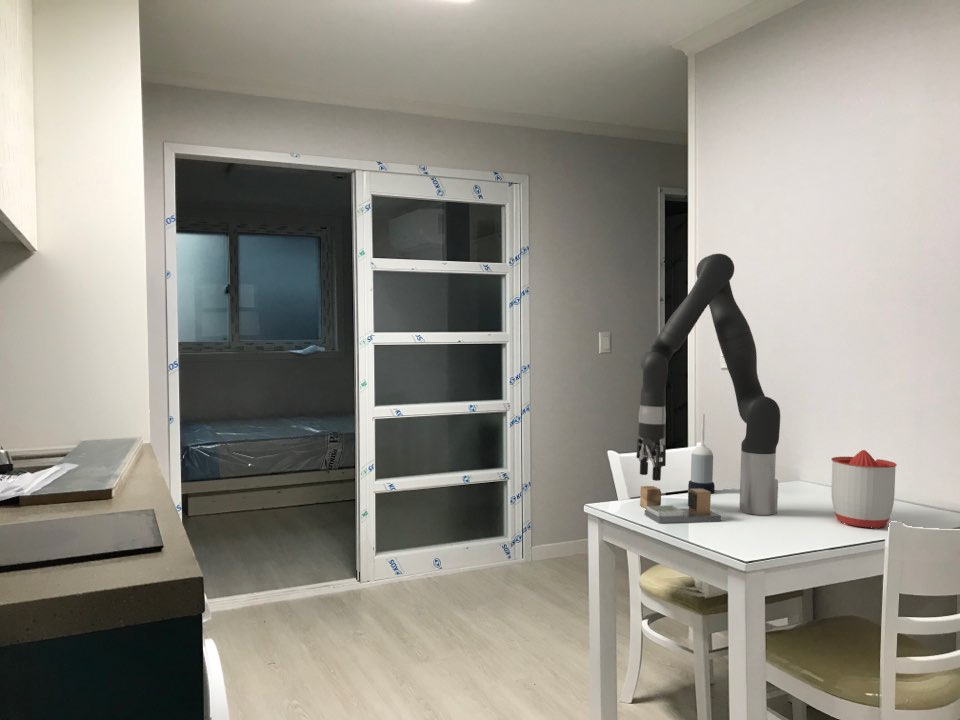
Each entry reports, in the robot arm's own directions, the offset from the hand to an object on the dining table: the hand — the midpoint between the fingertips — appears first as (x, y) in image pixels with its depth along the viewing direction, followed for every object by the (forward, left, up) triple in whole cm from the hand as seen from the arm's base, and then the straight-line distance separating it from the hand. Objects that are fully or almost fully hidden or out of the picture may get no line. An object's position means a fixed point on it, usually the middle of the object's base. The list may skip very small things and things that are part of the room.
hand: (649, 477), depth 208 cm
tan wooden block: (0, 0, -9) cm, 9 cm away
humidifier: (-27, -20, -9) cm, 35 cm away
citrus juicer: (-51, +23, -9) cm, 57 cm away
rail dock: (-4, +12, -9) cm, 15 cm away
